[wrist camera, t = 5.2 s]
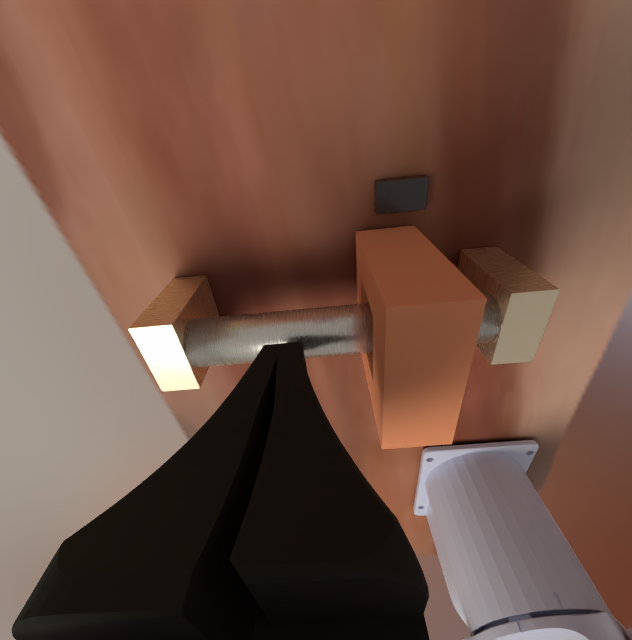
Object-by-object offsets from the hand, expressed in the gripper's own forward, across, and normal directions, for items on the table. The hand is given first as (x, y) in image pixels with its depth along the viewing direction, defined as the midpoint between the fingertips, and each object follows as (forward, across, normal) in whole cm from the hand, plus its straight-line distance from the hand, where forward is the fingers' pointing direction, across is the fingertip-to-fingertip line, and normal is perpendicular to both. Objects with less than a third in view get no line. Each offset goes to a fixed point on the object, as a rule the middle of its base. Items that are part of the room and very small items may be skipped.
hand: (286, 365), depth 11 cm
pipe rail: (+5, -2, 0) cm, 5 cm away
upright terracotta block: (+5, -4, 0) cm, 7 cm away
